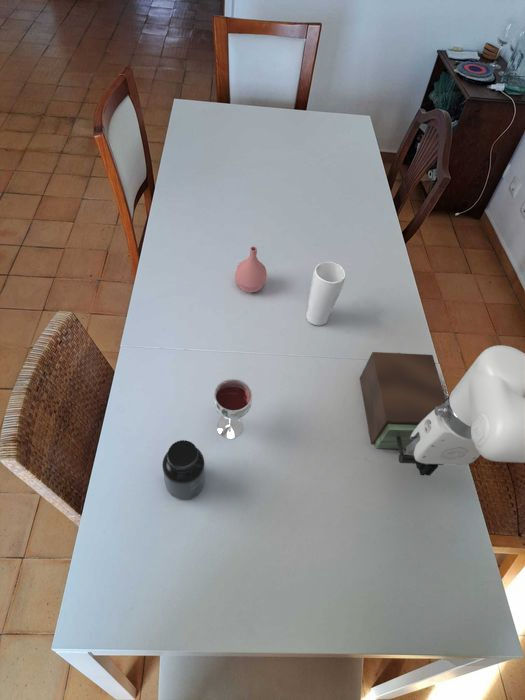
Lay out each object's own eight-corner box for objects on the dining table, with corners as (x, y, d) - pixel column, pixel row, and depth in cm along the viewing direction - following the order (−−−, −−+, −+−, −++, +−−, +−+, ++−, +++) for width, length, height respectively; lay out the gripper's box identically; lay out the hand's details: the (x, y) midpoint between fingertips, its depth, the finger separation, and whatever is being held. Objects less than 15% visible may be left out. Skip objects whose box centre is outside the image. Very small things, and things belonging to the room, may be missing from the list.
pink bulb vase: (241, 301, 109) (244, 263, 99) (229, 279, 113) (231, 241, 103) (270, 293, 111) (276, 256, 102) (257, 272, 115) (262, 234, 106)
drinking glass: (301, 326, 106) (313, 279, 94) (304, 305, 110) (316, 258, 98) (329, 331, 106) (345, 285, 94) (331, 310, 110) (346, 264, 98)
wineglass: (205, 429, 88) (205, 397, 78) (226, 405, 91) (229, 372, 82) (233, 449, 86) (237, 419, 76) (254, 423, 90) (260, 391, 80)
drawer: (439, 474, 86) (457, 457, 80) (380, 472, 85) (394, 455, 79) (416, 386, 98) (430, 366, 92) (364, 384, 97) (375, 363, 91)
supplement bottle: (202, 461, 84) (202, 431, 74) (206, 498, 80) (206, 471, 70) (165, 466, 83) (159, 436, 73) (166, 503, 79) (161, 477, 69)
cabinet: (432, 446, 91) (453, 423, 83) (371, 444, 89) (386, 421, 82) (415, 380, 100) (432, 354, 92) (359, 378, 99) (372, 351, 91)
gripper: (426, 435, 63) (385, 487, 78) (527, 438, 65) (469, 489, 79) (414, 390, 68) (377, 447, 82) (508, 394, 69) (456, 449, 84)
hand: (422, 467), depth 81 cm, fingers closed
